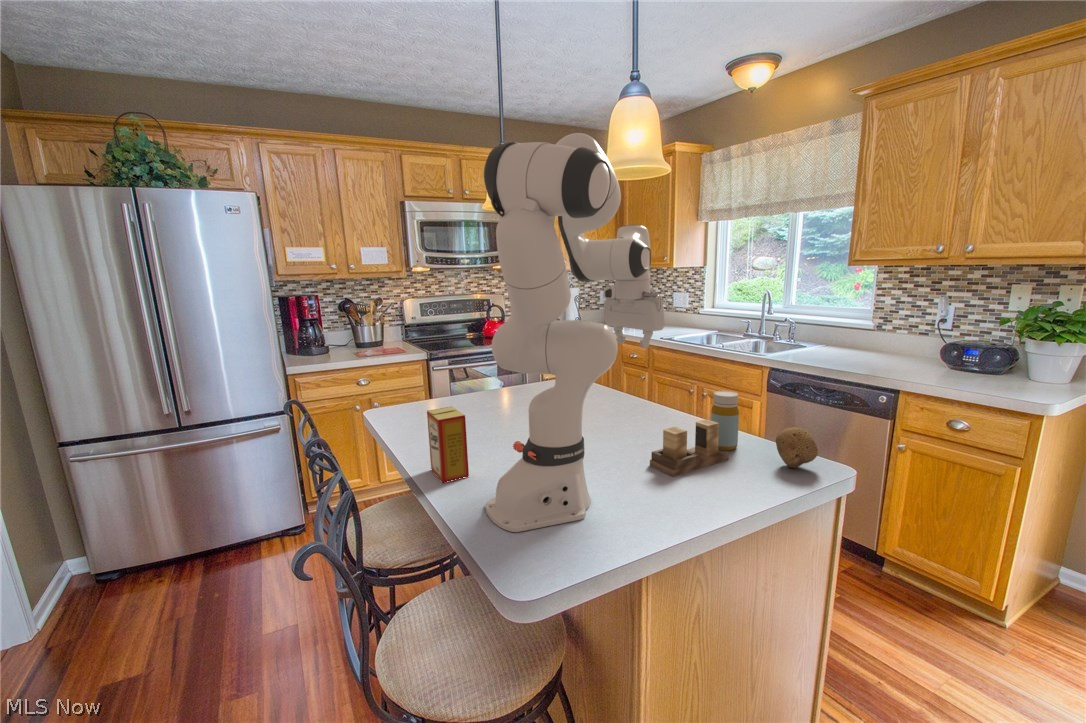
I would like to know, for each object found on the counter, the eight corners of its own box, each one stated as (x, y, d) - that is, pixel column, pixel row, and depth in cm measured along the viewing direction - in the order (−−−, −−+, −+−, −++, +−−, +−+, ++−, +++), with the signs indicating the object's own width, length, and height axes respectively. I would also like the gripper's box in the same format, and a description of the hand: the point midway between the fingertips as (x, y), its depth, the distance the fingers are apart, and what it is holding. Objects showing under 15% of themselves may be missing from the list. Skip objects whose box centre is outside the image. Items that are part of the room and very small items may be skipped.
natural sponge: (811, 461, 121) (814, 423, 119) (820, 476, 113) (823, 435, 111) (771, 458, 124) (774, 421, 122) (777, 472, 115) (780, 432, 114)
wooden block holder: (672, 476, 115) (673, 438, 113) (649, 465, 122) (650, 429, 120) (728, 459, 124) (729, 424, 122) (703, 450, 131) (704, 416, 129)
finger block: (674, 465, 118) (675, 434, 116) (662, 460, 121) (663, 429, 120) (687, 461, 120) (688, 430, 118) (675, 456, 123) (676, 426, 122)
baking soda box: (468, 477, 118) (465, 413, 115) (442, 483, 115) (438, 418, 112) (455, 464, 126) (452, 405, 124) (431, 469, 123) (426, 409, 120)
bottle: (739, 451, 129) (742, 397, 126) (711, 450, 131) (713, 396, 128) (734, 442, 136) (737, 390, 133) (708, 441, 137) (710, 390, 135)
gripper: (671, 292, 116) (670, 348, 119) (618, 290, 134) (618, 339, 137) (651, 293, 113) (650, 351, 116) (599, 291, 131) (599, 342, 134)
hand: (632, 345), depth 126 cm, fingers open, 8 cm apart
